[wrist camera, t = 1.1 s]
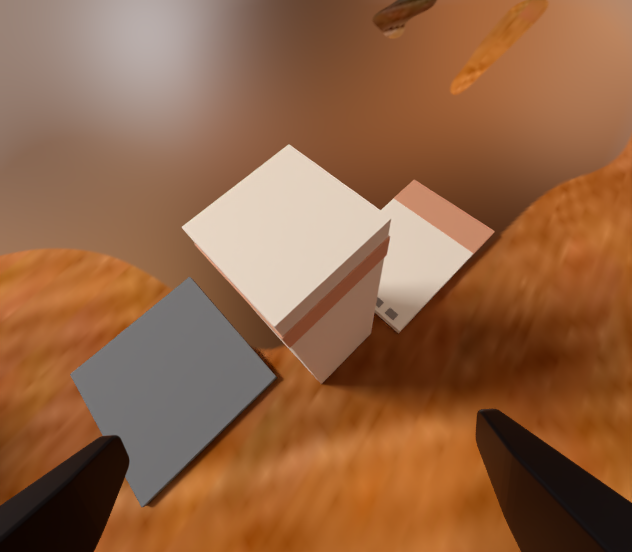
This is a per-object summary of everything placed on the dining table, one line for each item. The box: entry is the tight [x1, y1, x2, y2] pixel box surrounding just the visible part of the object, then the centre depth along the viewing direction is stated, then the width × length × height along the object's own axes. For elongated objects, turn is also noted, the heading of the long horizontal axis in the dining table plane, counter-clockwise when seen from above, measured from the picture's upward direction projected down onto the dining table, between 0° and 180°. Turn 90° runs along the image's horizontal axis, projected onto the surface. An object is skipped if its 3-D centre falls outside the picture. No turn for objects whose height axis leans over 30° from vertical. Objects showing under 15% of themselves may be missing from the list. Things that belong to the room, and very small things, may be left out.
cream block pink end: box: [375, 180, 494, 333], centre depth 23 cm, size 10×7×1 cm
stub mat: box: [70, 277, 277, 507], centre depth 21 cm, size 10×10×1 cm
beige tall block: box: [182, 145, 391, 384], centre depth 15 cm, size 5×5×13 cm
